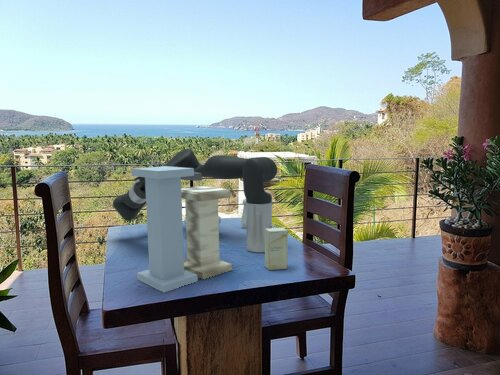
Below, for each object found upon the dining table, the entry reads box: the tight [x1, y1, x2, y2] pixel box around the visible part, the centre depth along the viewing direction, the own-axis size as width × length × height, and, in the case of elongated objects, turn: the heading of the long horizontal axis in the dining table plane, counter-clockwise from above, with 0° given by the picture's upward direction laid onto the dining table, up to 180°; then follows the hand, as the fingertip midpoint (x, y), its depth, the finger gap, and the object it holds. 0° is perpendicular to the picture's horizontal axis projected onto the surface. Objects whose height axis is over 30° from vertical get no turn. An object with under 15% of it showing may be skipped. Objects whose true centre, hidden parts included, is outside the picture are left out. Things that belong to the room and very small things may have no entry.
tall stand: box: [131, 165, 198, 294], centre depth 109 cm, size 14×11×32 cm
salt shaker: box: [240, 198, 246, 229], centre depth 174 cm, size 6×6×13 cm
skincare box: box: [264, 227, 289, 271], centre depth 120 cm, size 6×4×12 cm
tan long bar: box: [181, 172, 203, 182], centre depth 126 cm, size 26×2×2 cm, turn 44°
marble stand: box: [181, 185, 233, 280], centre depth 118 cm, size 14×11×25 cm
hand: (163, 168), depth 130 cm, fingers closed on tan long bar, 2 cm apart
